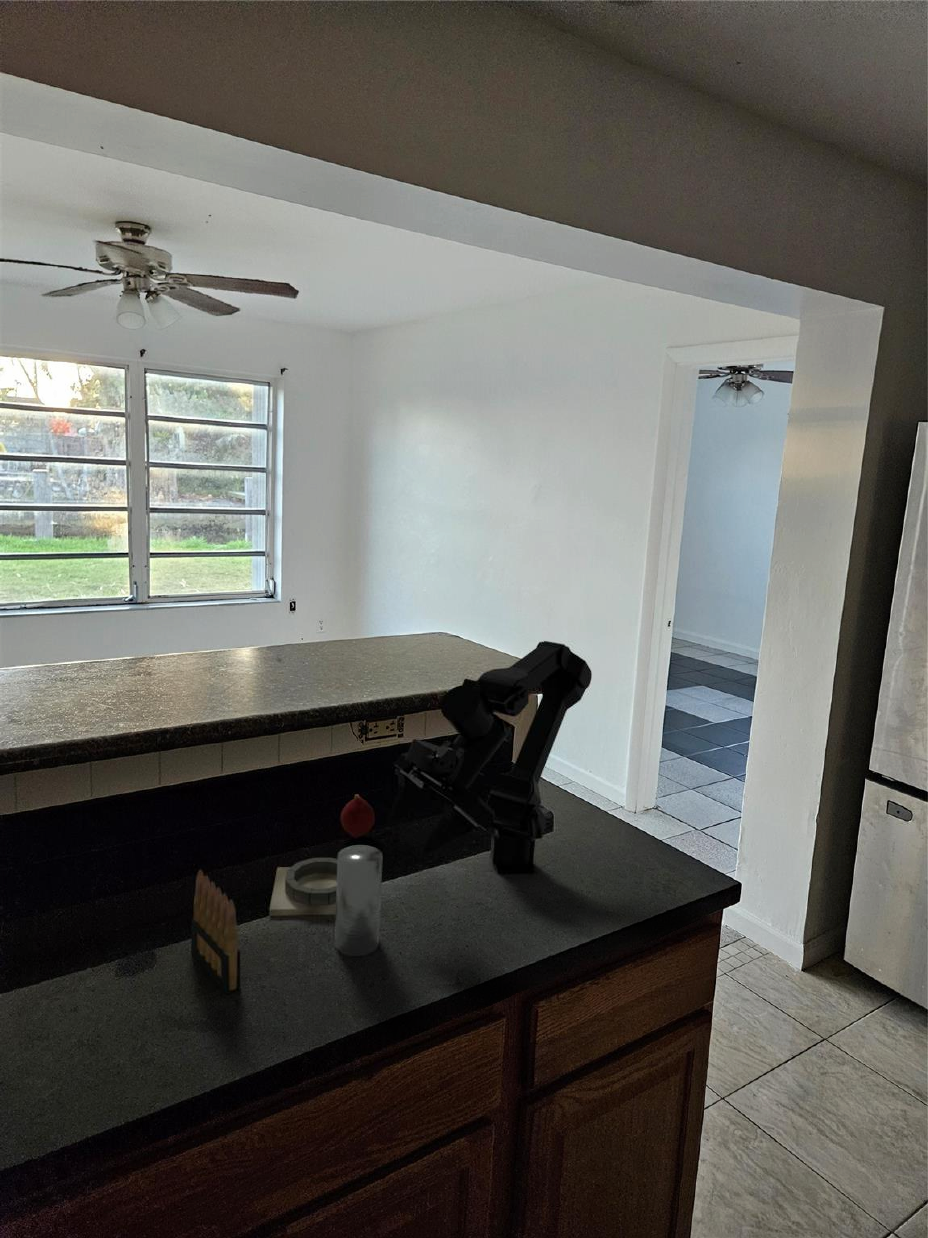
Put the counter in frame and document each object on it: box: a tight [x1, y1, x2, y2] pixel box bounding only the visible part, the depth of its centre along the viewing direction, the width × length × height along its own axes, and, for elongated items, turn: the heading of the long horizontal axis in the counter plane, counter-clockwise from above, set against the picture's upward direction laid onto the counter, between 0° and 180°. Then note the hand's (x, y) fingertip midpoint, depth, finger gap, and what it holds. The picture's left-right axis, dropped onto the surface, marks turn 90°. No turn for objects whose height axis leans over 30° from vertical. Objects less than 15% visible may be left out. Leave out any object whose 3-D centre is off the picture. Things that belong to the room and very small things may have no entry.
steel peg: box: [334, 844, 384, 957], centre depth 107 cm, size 6×6×13 cm
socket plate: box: [268, 857, 338, 917], centre depth 119 cm, size 14×12×3 cm
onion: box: [340, 793, 376, 839], centre depth 137 cm, size 6×6×8 cm
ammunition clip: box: [190, 869, 241, 995], centre depth 99 cm, size 11×2×12 cm, turn 42°
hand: (406, 838), depth 111 cm, fingers open, 9 cm apart
